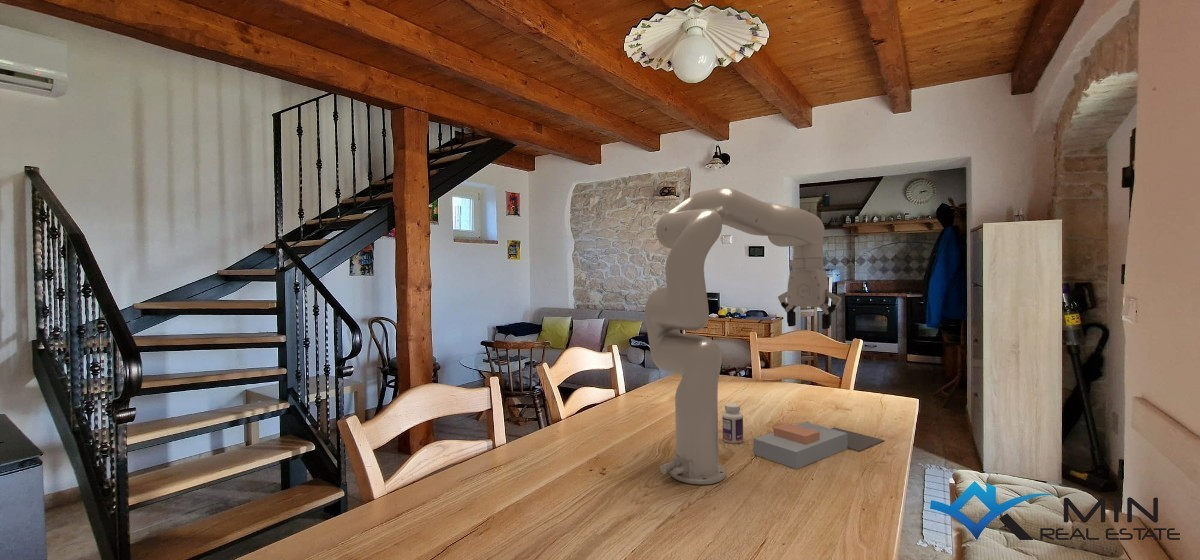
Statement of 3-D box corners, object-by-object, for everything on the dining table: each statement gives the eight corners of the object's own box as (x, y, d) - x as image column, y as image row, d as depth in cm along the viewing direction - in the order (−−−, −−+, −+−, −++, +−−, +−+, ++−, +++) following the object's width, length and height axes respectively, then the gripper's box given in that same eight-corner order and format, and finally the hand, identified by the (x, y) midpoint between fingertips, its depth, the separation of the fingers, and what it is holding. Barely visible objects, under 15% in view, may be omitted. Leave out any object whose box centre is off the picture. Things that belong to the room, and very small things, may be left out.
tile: (805, 444, 123) (805, 436, 123) (773, 435, 131) (773, 427, 131) (819, 439, 127) (819, 431, 127) (787, 430, 134) (787, 423, 134)
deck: (796, 469, 119) (796, 452, 119) (753, 454, 129) (753, 438, 129) (847, 448, 132) (847, 433, 131) (805, 436, 141) (805, 422, 141)
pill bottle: (741, 437, 142) (741, 402, 141) (744, 444, 136) (744, 407, 136) (721, 437, 142) (720, 402, 142) (724, 443, 137) (723, 407, 137)
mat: (859, 451, 129) (859, 450, 129) (808, 437, 141) (808, 436, 141) (884, 441, 137) (884, 440, 137) (834, 428, 148) (834, 427, 148)
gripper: (771, 265, 145) (772, 326, 145) (834, 264, 132) (834, 331, 132) (785, 265, 150) (785, 324, 150) (846, 264, 137) (846, 328, 137)
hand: (808, 327), depth 141 cm, fingers open, 9 cm apart
